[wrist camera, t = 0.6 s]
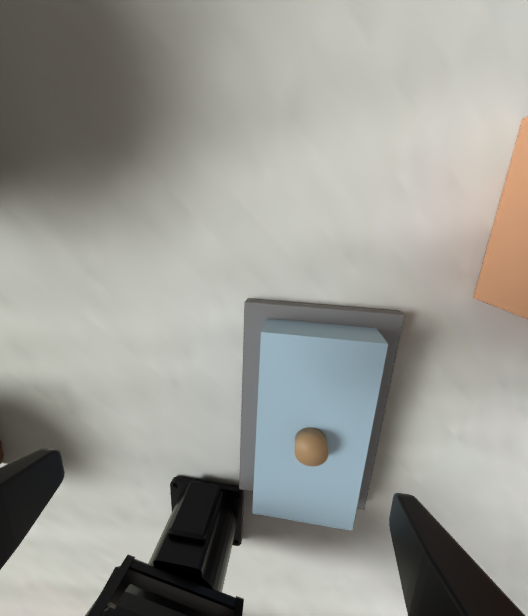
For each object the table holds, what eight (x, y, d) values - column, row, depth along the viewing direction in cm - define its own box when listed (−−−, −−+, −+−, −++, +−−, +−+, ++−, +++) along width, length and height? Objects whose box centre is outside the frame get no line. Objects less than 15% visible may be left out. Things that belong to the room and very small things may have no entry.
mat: (361, 497, 22) (364, 509, 21) (241, 478, 23) (239, 489, 22) (398, 310, 18) (404, 315, 17) (247, 298, 19) (244, 302, 18)
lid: (346, 496, 21) (354, 546, 18) (257, 482, 22) (249, 528, 18) (376, 328, 17) (394, 352, 14) (266, 318, 18) (258, 338, 15)
